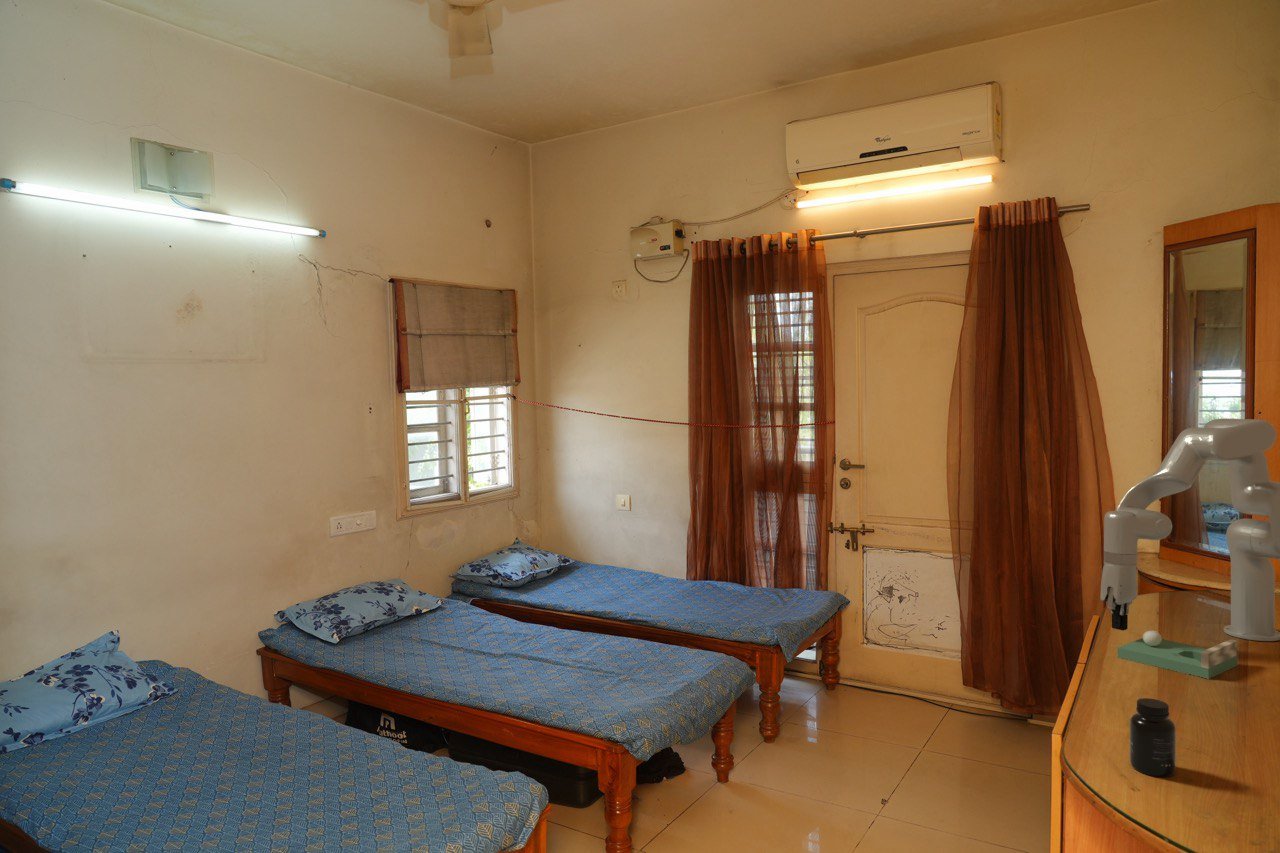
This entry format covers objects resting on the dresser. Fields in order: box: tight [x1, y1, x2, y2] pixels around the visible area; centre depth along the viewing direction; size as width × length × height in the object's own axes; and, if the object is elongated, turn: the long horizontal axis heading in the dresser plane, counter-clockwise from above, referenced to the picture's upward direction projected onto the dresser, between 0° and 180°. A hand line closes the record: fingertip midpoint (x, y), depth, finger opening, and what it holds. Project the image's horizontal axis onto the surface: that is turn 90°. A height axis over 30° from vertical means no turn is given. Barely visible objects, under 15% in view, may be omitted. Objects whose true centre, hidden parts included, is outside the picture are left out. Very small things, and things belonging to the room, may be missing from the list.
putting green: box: [1117, 637, 1238, 680], centre depth 199 cm, size 16×20×2 cm
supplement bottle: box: [1129, 697, 1177, 778], centre depth 142 cm, size 7×7×12 cm
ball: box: [1142, 629, 1163, 646], centre depth 203 cm, size 4×4×4 cm
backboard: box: [1201, 639, 1238, 669], centre depth 191 cm, size 16×2×4 cm, turn 124°
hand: (1119, 628), depth 209 cm, fingers closed
